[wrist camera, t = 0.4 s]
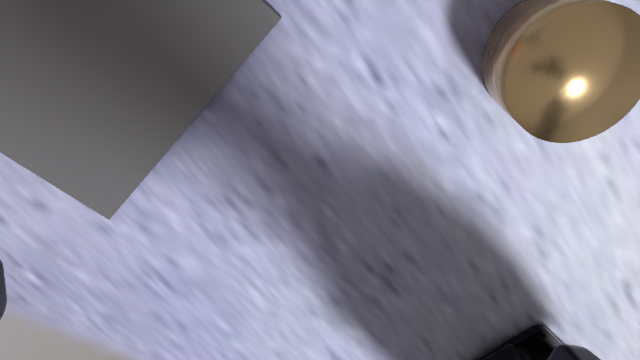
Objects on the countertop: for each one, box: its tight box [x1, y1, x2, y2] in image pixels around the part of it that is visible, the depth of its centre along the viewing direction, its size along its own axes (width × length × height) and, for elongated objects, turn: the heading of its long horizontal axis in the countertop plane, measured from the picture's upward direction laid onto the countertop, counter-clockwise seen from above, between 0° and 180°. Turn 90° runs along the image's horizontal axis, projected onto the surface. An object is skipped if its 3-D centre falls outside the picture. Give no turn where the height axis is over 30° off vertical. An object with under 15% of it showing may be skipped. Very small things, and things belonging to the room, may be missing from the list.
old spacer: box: [482, 0, 640, 143], centre depth 18 cm, size 5×5×3 cm
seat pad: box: [0, 0, 281, 219], centre depth 17 cm, size 14×12×1 cm
